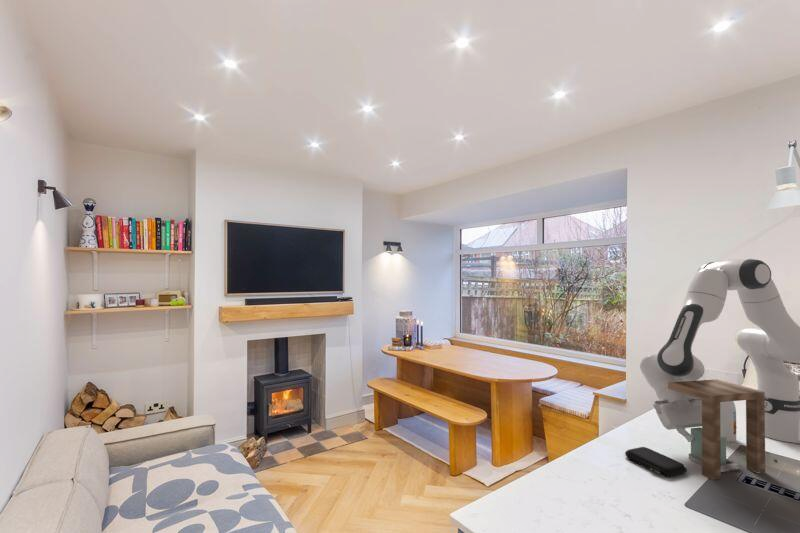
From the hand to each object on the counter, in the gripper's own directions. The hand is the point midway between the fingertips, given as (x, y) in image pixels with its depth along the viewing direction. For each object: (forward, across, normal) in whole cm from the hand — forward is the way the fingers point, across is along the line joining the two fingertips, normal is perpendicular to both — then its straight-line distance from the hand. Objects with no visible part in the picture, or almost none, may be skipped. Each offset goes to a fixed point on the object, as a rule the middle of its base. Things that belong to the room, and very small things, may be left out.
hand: (704, 439), depth 122 cm
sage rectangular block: (+5, 0, +4) cm, 6 cm away
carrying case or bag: (+5, -20, +5) cm, 21 cm away
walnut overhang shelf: (+7, 0, +2) cm, 7 cm away
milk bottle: (-4, +23, +13) cm, 27 cm away
